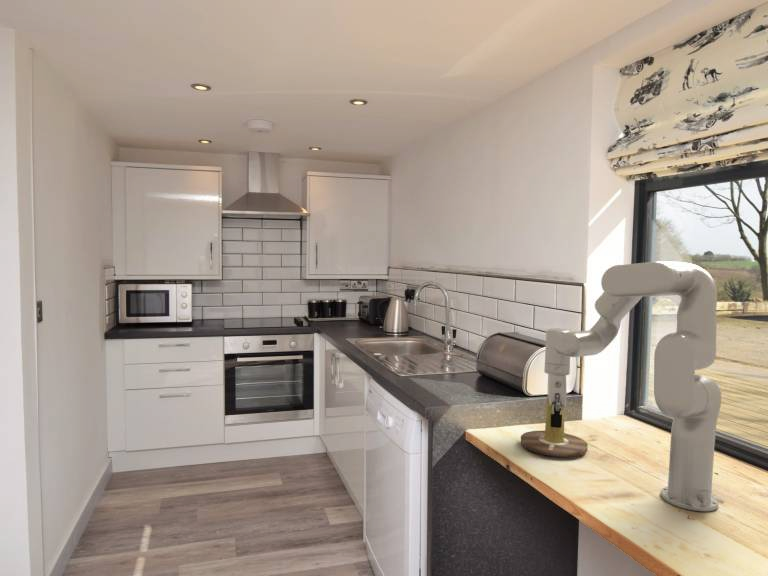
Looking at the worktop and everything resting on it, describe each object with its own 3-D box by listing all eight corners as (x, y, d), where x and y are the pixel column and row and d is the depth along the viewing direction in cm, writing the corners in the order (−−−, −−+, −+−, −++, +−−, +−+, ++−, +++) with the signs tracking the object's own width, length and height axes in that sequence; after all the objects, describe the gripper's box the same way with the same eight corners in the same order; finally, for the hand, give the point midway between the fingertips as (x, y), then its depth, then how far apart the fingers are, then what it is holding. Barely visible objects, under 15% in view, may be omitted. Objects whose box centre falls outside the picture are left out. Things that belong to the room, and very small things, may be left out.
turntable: (591, 459, 162) (593, 434, 162) (521, 452, 166) (522, 428, 166) (581, 436, 184) (582, 413, 184) (519, 430, 189) (520, 408, 188)
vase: (544, 442, 172) (546, 396, 171) (543, 436, 178) (545, 392, 177) (565, 444, 170) (567, 398, 169) (563, 438, 176) (565, 393, 175)
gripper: (573, 374, 164) (570, 432, 164) (566, 364, 180) (564, 416, 181) (546, 373, 165) (543, 429, 166) (542, 362, 182) (540, 414, 183)
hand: (554, 422), depth 174 cm, fingers open, 9 cm apart
